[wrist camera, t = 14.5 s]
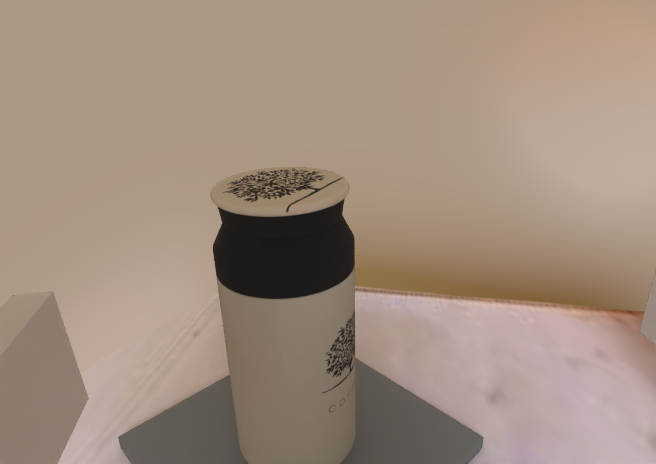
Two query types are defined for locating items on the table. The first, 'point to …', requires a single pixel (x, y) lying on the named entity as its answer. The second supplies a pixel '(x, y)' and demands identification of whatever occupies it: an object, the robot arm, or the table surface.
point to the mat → (363, 460)
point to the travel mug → (288, 313)
